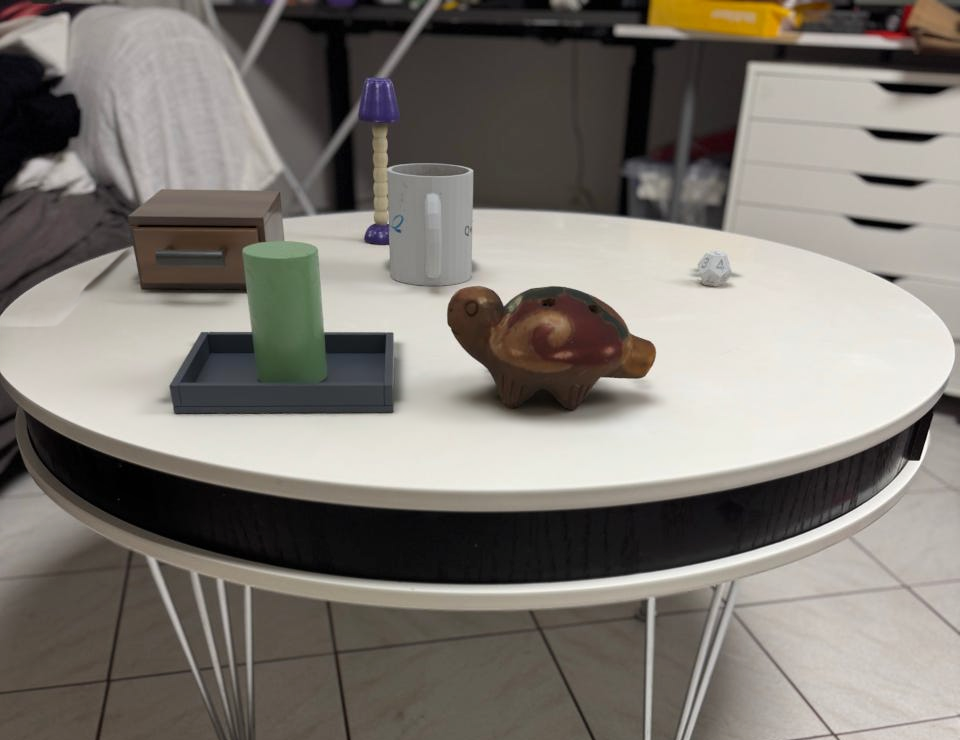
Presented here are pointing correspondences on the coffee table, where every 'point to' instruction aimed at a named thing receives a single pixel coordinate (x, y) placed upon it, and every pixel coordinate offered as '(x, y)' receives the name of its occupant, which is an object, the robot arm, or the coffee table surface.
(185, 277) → the drawer
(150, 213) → the cabinet
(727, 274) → the game die
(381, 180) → the toy lamp
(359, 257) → the coffee table surface
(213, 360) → the tray
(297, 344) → the can
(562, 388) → the decorative turtle
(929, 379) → the coffee table surface
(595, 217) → the coffee table surface
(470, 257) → the mug
